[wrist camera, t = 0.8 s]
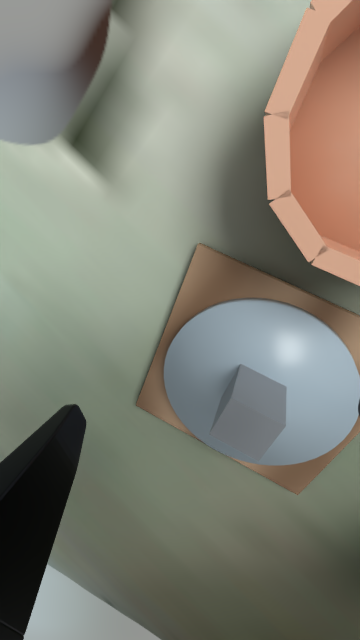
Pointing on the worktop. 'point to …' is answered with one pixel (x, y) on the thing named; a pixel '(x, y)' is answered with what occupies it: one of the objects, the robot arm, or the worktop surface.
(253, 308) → the lid
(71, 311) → the worktop surface
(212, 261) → the board
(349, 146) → the bowl
